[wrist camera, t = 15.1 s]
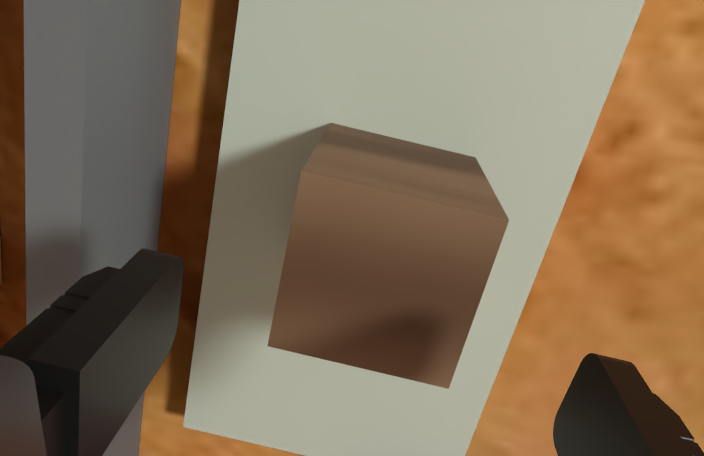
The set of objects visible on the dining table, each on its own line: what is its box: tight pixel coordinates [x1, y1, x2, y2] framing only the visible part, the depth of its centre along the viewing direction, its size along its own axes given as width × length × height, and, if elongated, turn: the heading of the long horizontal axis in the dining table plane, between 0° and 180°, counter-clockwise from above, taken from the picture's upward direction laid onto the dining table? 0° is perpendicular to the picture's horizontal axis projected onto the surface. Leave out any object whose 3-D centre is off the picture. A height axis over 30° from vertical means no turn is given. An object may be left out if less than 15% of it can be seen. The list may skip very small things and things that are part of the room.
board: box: [183, 0, 645, 456], centre depth 20 cm, size 24×12×2 cm, turn 167°
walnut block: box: [267, 123, 509, 389], centre depth 16 cm, size 5×5×6 cm
